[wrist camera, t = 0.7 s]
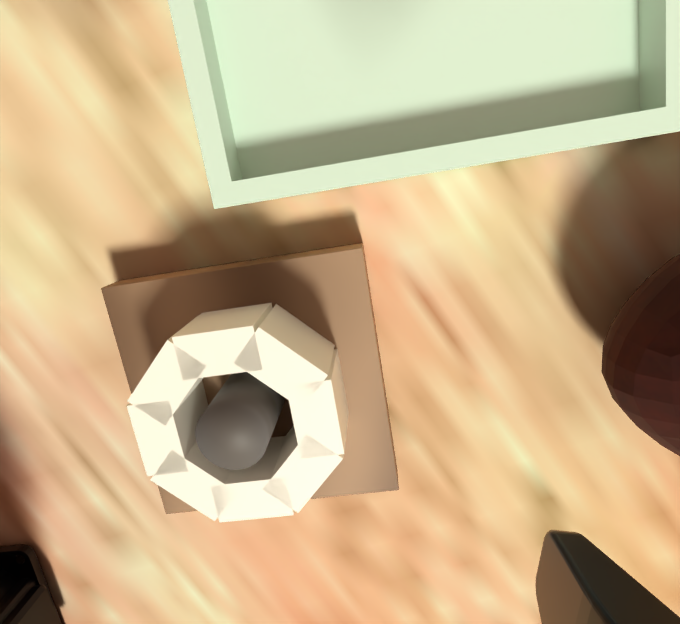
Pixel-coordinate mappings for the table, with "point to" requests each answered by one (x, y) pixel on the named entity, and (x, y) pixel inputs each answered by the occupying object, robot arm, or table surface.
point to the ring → (190, 403)
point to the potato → (648, 356)
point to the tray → (416, 85)
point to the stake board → (305, 299)
